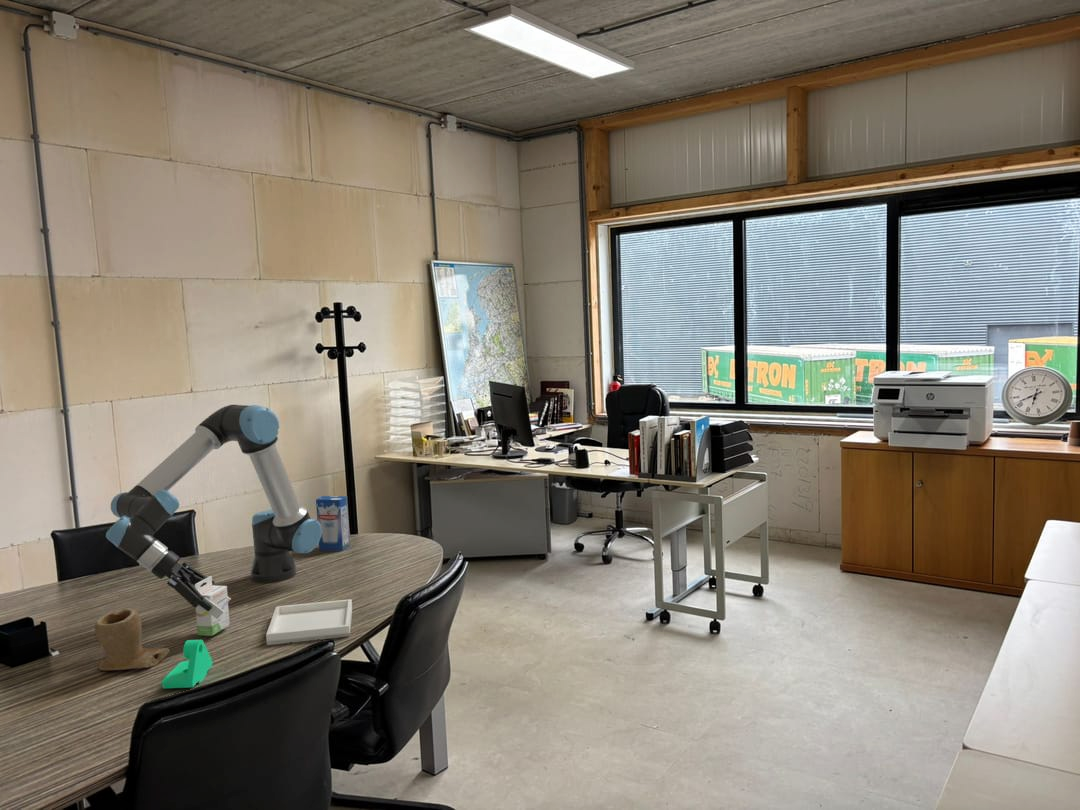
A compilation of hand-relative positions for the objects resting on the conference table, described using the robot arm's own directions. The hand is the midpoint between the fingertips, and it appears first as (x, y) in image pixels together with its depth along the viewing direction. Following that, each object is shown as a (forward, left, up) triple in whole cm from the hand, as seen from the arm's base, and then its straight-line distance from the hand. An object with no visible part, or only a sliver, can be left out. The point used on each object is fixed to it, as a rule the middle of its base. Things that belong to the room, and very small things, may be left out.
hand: (224, 608), depth 225 cm
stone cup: (+18, -20, -7) cm, 28 cm away
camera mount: (+30, -4, -7) cm, 31 cm away
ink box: (0, -3, -6) cm, 7 cm away
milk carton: (-79, +26, -7) cm, 83 cm away
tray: (+2, +24, -7) cm, 25 cm away
